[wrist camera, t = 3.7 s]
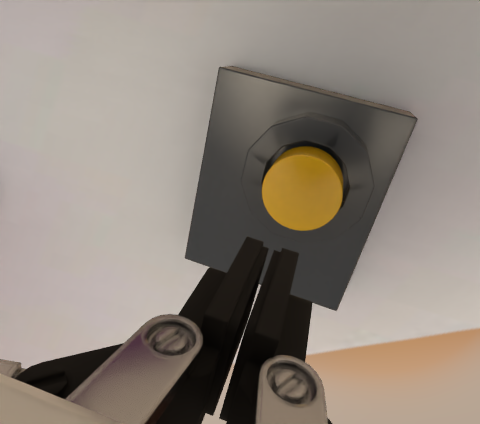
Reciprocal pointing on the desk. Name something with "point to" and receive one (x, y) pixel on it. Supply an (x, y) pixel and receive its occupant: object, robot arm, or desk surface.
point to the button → (303, 188)
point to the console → (263, 157)
